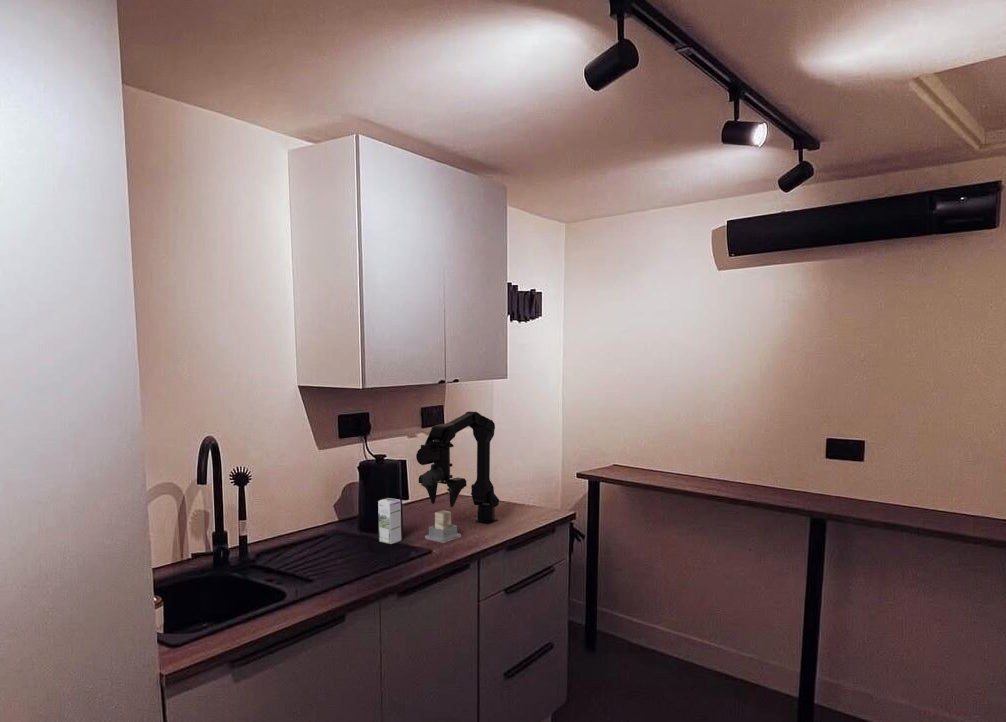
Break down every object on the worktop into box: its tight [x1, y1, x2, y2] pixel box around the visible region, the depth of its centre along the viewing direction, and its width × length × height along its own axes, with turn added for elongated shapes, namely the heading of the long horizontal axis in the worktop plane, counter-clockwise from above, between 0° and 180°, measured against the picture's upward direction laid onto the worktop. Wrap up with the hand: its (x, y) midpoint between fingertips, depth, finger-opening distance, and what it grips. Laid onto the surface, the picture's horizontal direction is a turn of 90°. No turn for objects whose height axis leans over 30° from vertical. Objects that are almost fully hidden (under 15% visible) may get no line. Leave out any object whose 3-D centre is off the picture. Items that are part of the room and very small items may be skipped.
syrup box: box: [377, 497, 402, 545], centre depth 212 cm, size 6×6×14 cm
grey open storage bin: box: [424, 524, 462, 544], centre depth 215 cm, size 9×9×4 cm
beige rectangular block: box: [434, 510, 452, 529], centre depth 215 cm, size 4×4×8 cm
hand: (442, 505), depth 215 cm, fingers open, 9 cm apart
